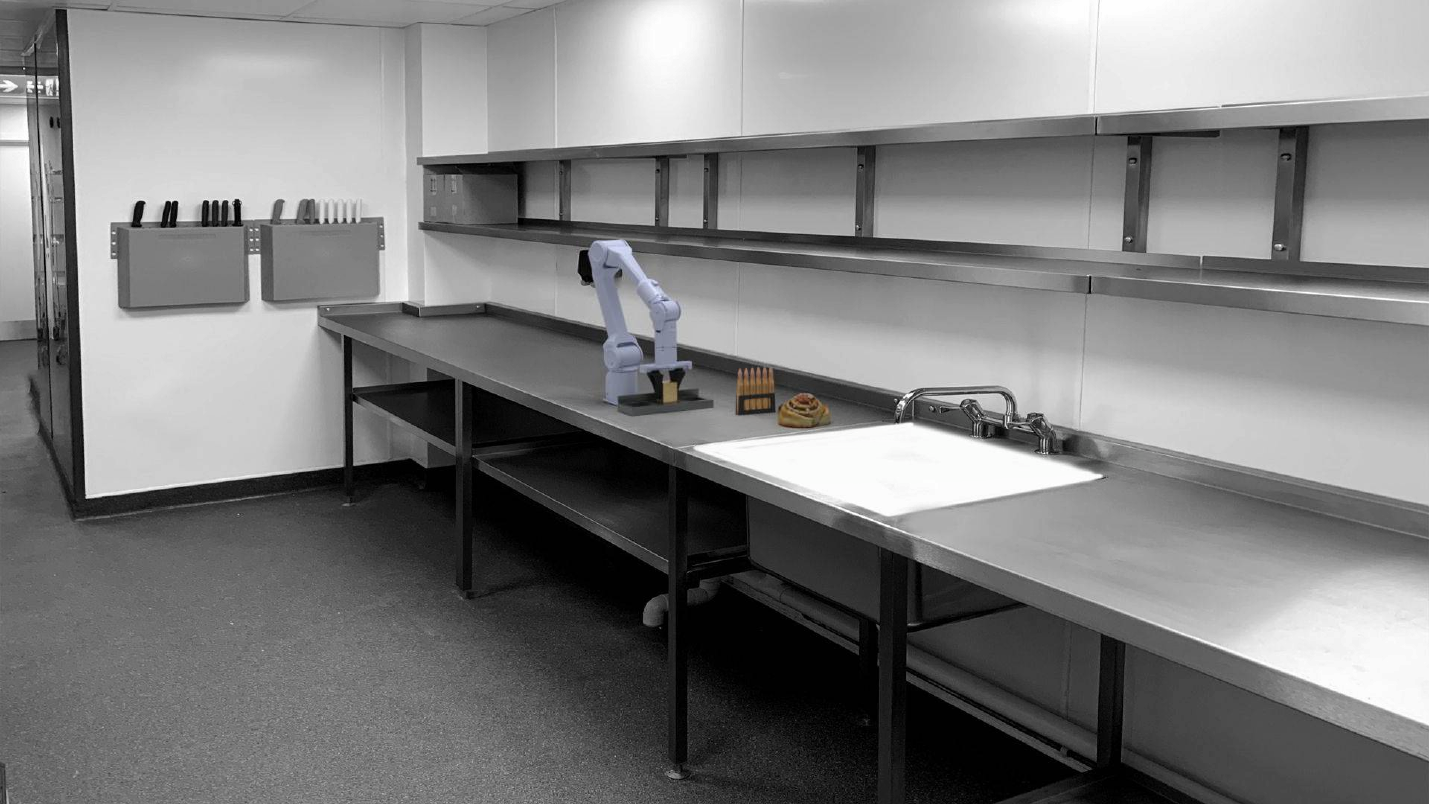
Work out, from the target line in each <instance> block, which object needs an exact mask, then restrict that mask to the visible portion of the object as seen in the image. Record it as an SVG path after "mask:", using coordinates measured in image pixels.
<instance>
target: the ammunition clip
mask: <svg viewBox="0 0 1429 804" xmlns="http://www.w3.org/2000/svg"><path fill="white" fill-rule="evenodd" d="M749 375H750V376H749ZM776 412H777V410H776V392H775V380H774V370H773V366H770V367H769V370H768V371H767V368H766V366H764V367H763V370H762V375H761V368H760V367H759V366H758V367H757V368H756V373H755V369H754V367H751V369H750V374H749V371H748V368H747V367H745V369H744V373H743V372H742V369H741V368H739V369H738V372H737V383H736V395H735V415H737V416H746V415H748V416H749V415H759V414H768V413H769V414H770V413H771V414H772V413H776Z"/></svg>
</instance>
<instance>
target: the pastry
mask: <svg viewBox="0 0 1429 804" xmlns="http://www.w3.org/2000/svg"><path fill="white" fill-rule="evenodd" d="M777 408H778V409H777V410H778V412H777V413H778V414H777V423H778V426H780V427H785V428H788V429H789V428H790V429H812V427H821V426H826V425H829V424H830V422H831V414H830V411H829V405H828V404H827V403H824V404H823V403H822V402H821V401H820V400H819V399H818V398H816V396H814V395H813V394H811V393H809V392H807V393H805V392H804V393H801V392H800V393H799V394H796V395H795V396H794V397H792V398H790V399H789V400H786V402H785V403H781V404H779V405H778V407H777Z"/></svg>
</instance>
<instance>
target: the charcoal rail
mask: <svg viewBox="0 0 1429 804" xmlns="http://www.w3.org/2000/svg"><path fill="white" fill-rule="evenodd" d="M617 398H618V405H617V411H618V412H620V413H623V414H626V415H628V416H631V417H635V416H636V417H637V416H646V415H655V414H665V413H673V412H674V413H675V412H680V411H684V412H685V411H692V410H701V409H710V408H714V407H715V406H714V404H715V403H714V399H712V398H708V397H704V396H702V395H699V387H694V388H684V389H683V388H682V389H679V390H678V395H677V403H670V404H660V403H657V399H656V396H655V392H654V391H653V392H644V393H642V392H641V393H637V394H632V395H622V396H617Z"/></svg>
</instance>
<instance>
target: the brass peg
mask: <svg viewBox="0 0 1429 804" xmlns="http://www.w3.org/2000/svg"><path fill="white" fill-rule="evenodd" d="M657 403H660V404H670V403H677V382H675V381H671V380H670V379H668V380H663V381H662V399H657Z"/></svg>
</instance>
